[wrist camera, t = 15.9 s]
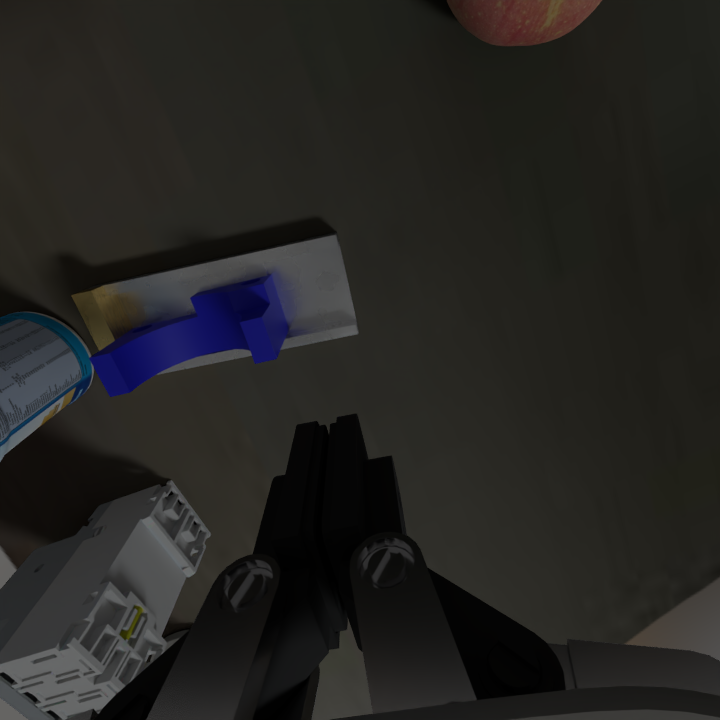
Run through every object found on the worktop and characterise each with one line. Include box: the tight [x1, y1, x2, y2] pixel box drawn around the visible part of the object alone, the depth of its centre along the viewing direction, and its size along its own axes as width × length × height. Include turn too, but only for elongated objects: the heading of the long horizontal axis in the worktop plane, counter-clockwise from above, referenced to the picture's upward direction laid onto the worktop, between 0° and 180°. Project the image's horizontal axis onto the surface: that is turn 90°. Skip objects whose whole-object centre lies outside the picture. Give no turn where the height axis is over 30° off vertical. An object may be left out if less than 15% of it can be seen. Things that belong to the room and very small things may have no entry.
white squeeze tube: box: [71, 232, 358, 375], centre depth 31 cm, size 8×19×3 cm, turn 102°
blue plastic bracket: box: [89, 275, 289, 397], centre depth 30 cm, size 12×4×6 cm, turn 103°
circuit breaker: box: [0, 480, 211, 720], centre depth 35 cm, size 8×14×15 cm, turn 111°
